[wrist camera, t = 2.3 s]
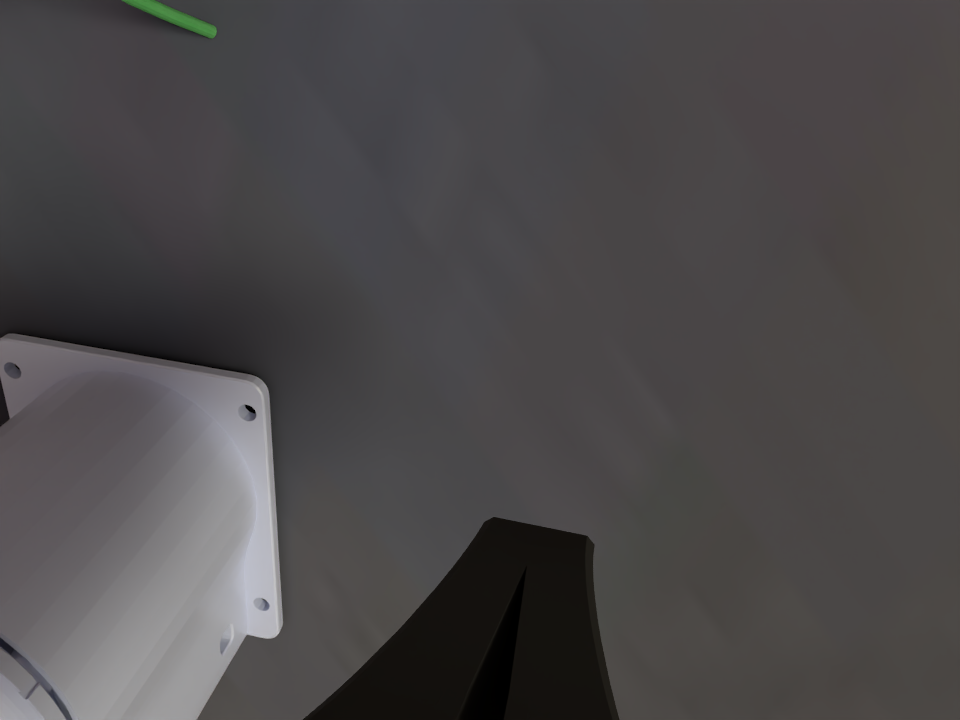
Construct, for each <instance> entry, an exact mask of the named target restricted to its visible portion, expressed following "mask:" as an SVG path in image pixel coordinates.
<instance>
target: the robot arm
mask: <svg viewBox="0 0 960 720" xmlns="http://www.w3.org/2000/svg"><path fill="white" fill-rule="evenodd" d="M14 364H16V365H17V366H18V367H19V368H20V370H21V371H20V370H19V369H17V368H16V367H15V365H14ZM0 378H1V383H2V387H3V391H4V396H5V400H6V404H7V408H8V413H9V417H10V419H9V420H8V421H7V422H6V423H4V424H3V425H2V426H1V427H0V720H196V719H197V718H198V716H199V714H200V713H201V711H202V709H203V708H204V706H205V704H206V702H207V701H208V699H209V697H210V696H211V694H212V692H213V691H214V689H215V687H216V686H217V684H218V682H219V680H220V679H221V677H222V675H223V674H224V672H225V670H226V669H227V667H228V665H229V663H230V662H231V660H232V658H233V657H234V655H235V653H236V652H237V650H238V648H239V647H240V645H241V643H242V641H243V640H244V638H245V636H246V635H247V634H248V635H252V636H257V637H261V638H269V639H270V638H274V637H276V636H277V635H278V634H279V632H280V630H281V628H282V625H283V617H282V600H281V584H280V567H279V550H278V534H277V517H276V500H275V484H274V467H273V450H272V434H271V417H270V400H269V391H268V388H267V386H266V385H265V383H264V382H263V381H262V380H261V379H259V378H258V377H256V376H253V375H250V374H244V373H239V372H233V371H227V370H221V369H216V368H210V367H204V366H198V365H193V364H187V363H181V362H175V361H169V360H164V359H158V358H152V357H146V356H141V355H135V354H129V353H123V352H118V351H112V350H106V349H100V348H95V347H89V346H83V345H77V344H72V343H66V342H60V341H54V340H49V339H43V338H37V337H31V336H26V335H20V334H14V333H13V334H7V335H5V336H3V337H2V338H0ZM245 405H249V406H251V407H252V408H253V409H254V410H255V412H256V414H254V413H251V412H249V411H248V410H247V409H246V407H245ZM593 553H594V544H593V542H592V541H591V540H590V539H589V537H588V536H586V535H581V534H576V533H571V532H566V531H561V530H556V529H551V528H546V527H541V526H536V525H531V524H526V523H521V522H516V521H511V520H506V519H501V518H496V517H493V518H491V519H489V520H487V521H486V522H484V524H483V525H482V527H481V528H480V530H479V532H478V533H477V535H476V536H475V538H474V539H473V541H472V542H471V543H470V545H469V546H468V548H467V549H466V550H465V552H464V553H463V554H462V556H461V557H460V558H459V560H458V561H457V562H456V564H455V565H454V566H453V567H452V569H451V570H450V571H449V572H448V574H447V575H446V576H445V577H444V579H443V580H442V581H441V582H440V584H439V585H438V586H437V587H436V588H435V590H434V591H433V592H432V593H431V594H430V595H429V596H428V597H427V599H426V600H425V601H424V602H423V603H422V604H421V605H420V607H419V608H418V609H417V610H416V611H415V612H414V613H413V615H412V616H411V617H410V618H409V619H408V620H407V621H406V622H405V624H404V625H403V626H402V627H401V628H400V629H399V630H398V631H397V632H396V633H395V634H394V635H393V636H392V637H391V638H390V639H389V640H388V641H387V642H386V643H385V644H384V645H383V646H382V647H381V648H380V649H379V650H378V651H377V652H376V653H375V654H374V655H373V656H372V657H371V658H370V659H369V660H368V661H367V662H366V663H365V664H364V665H363V666H362V667H361V668H360V669H359V670H358V671H357V672H356V673H355V674H354V675H353V676H352V677H351V678H350V679H349V680H347V681H346V682H345V683H344V684H343V685H342V686H341V687H340V688H339V689H338V690H337V691H335V692H334V693H333V694H332V695H331V696H330V697H329V698H328V699H326V700H325V701H324V702H323V703H322V704H321V705H319V706H318V707H317V708H316V709H315V710H314V711H312V712H311V713H310V714H309V715H308V716H306V717H305V718H304V719H303V720H619V716H618V713H617V709H616V705H615V701H614V697H613V693H612V689H611V685H610V681H609V676H608V671H607V667H606V662H605V657H604V652H603V647H602V642H601V637H600V631H599V625H598V619H597V611H596V603H595V595H594V582H593ZM263 599H265V600H266V601H265V600H263Z"/></svg>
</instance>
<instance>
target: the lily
mask: <svg viewBox="0 0 960 720" xmlns="http://www.w3.org/2000/svg"><path fill="white" fill-rule="evenodd" d="M122 1H124V2H125V3H127V4H129V5H131V6H134V7H136V8H138V9H140V10H143V11H145V12H147V13H149V14H152V15H154V16H156V17H158V18H161V19H163V20H165V21H167V22H170V23H172V24H175V25H177V26H180V27H182V28H185V29H187V30H190V31H193V32H195V33H198V34H200V35H203V36H205V37H208V38H210V39H211V38H214V37H215V36H216V33H217V29H216V27H215V26H213V25H211V24H209V23H207V22H204V21H202V20H199V19H197V18H195V17H192V16H190V15H187V14H185V13H182V12H180V11H178V10H175V9H173V8H171V7H168V6H166V5H164V4H162V3H160V2H158V1H155V0H122Z"/></svg>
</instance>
